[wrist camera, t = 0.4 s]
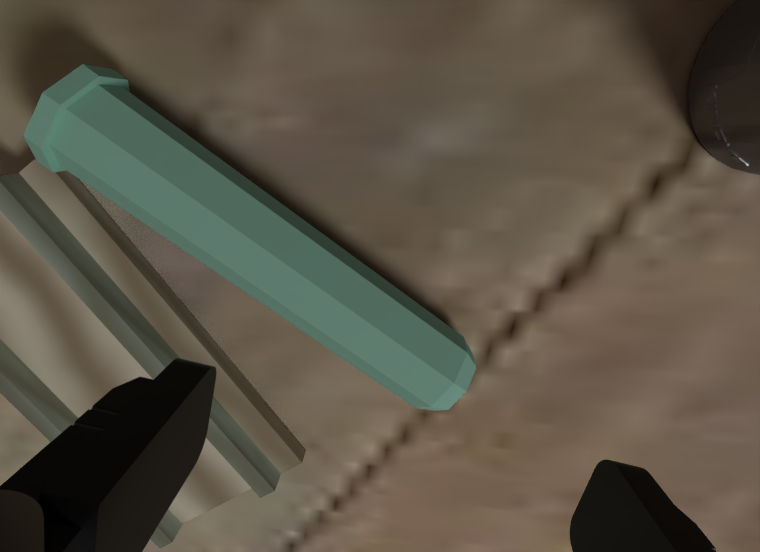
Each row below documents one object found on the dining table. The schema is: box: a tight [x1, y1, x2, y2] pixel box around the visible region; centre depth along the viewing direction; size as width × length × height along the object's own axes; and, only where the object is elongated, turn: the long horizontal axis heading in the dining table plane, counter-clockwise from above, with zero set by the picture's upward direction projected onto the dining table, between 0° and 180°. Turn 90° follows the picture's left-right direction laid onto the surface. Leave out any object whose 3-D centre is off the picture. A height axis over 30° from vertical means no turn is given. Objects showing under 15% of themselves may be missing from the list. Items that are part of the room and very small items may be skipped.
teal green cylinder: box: [23, 64, 477, 410], centre depth 24 cm, size 6×6×25 cm
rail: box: [0, 158, 306, 548], centre depth 29 cm, size 14×24×3 cm, turn 33°
